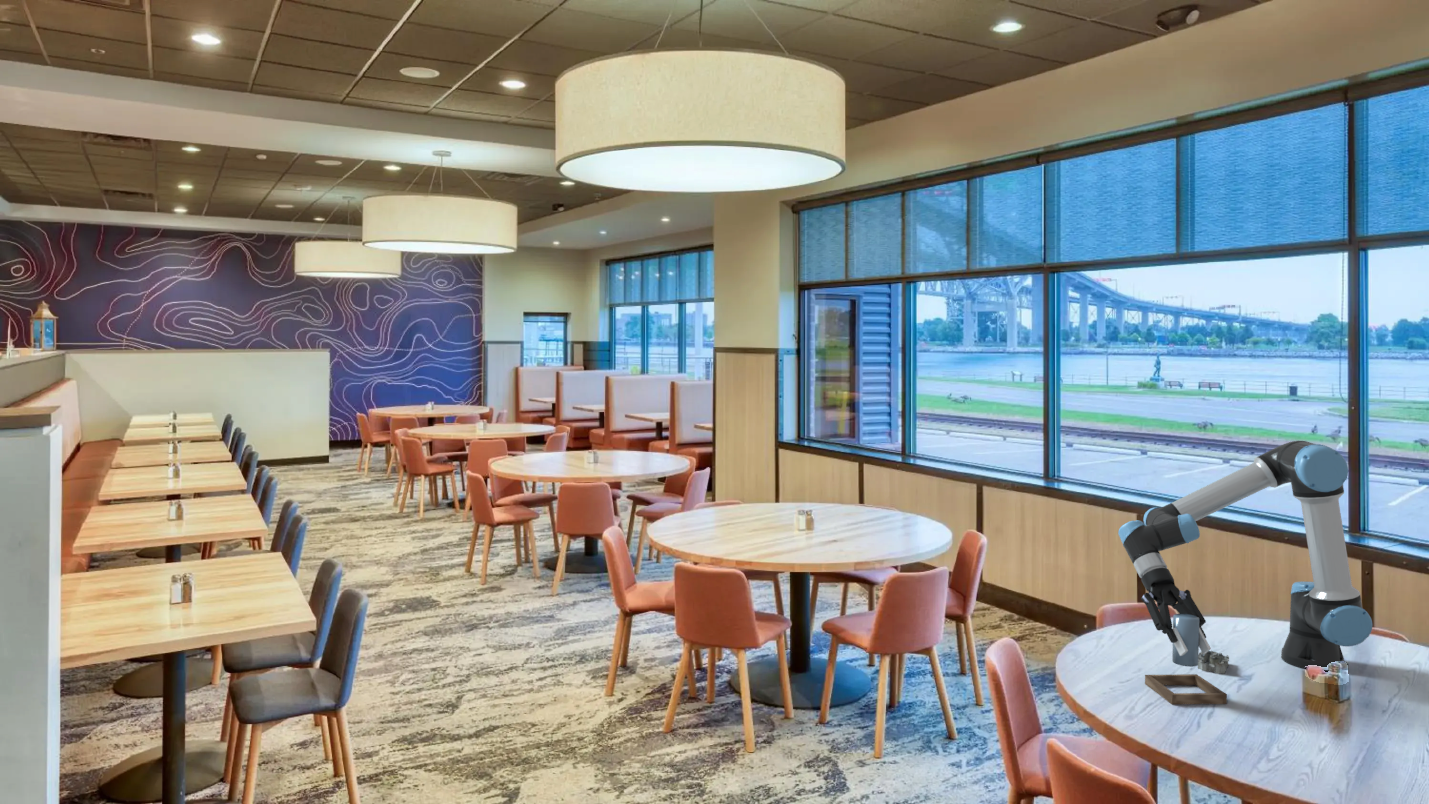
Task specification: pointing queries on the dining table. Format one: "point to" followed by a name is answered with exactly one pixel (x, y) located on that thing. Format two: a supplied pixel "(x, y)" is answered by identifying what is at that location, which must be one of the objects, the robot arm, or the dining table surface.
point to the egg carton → (1213, 662)
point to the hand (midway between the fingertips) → (1195, 652)
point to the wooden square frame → (1210, 697)
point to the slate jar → (1187, 639)
